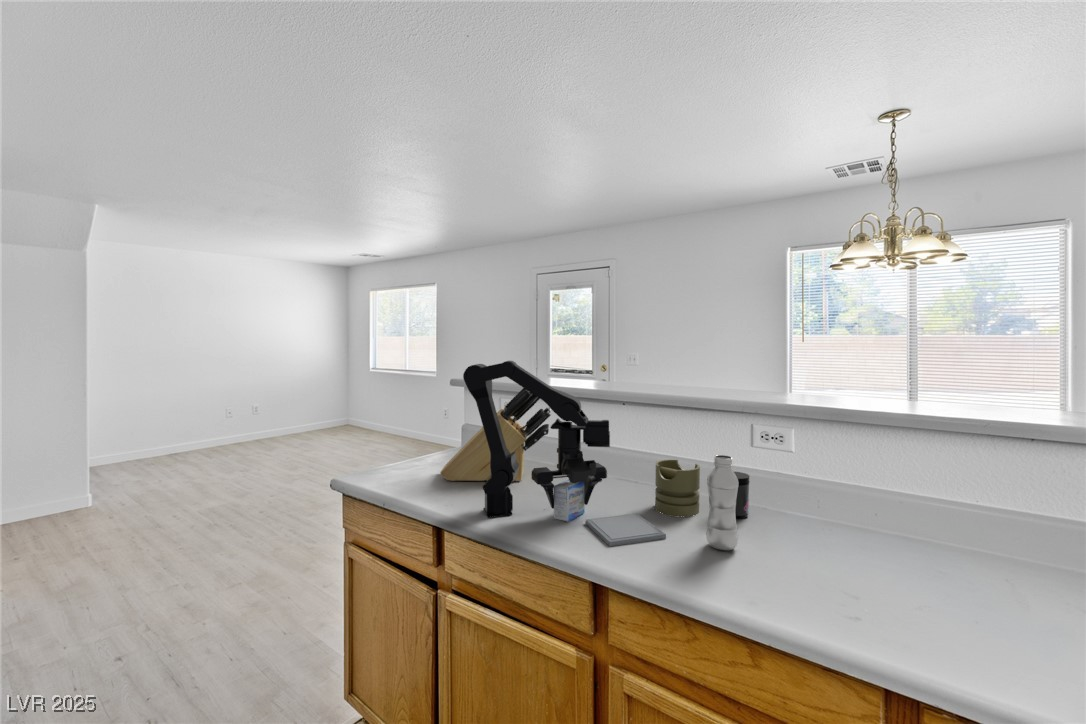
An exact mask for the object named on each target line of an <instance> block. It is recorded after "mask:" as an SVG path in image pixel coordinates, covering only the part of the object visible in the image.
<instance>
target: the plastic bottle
mask: <svg viewBox="0 0 1086 724" xmlns="http://www.w3.org/2000/svg"><path fill="white" fill-rule="evenodd" d="M713 458H714V459H713V466H714V467H713V468H712V470H711V471H710V472H709V474H708V475H707V479H706V484H707V492H708V502H709V506H708V507H709V512H708V523H707V526H706V533H705V535H706V541H707V543H708V544H709V545H710V547H712V548H714V549H716V550H719V551H732V550H733V551H734V549H735V548H736V547H737V545H738V544H739V533H738V528H737V519H736V515H735V510H736V508H735V507H736V498H737V491H738V484H739V482H738V479H737V477H736V475H735V473H734V472H735V471H734V470H733V469H732V467H734V466H733V464H734V463H733V457H732V456H729V455H725V454H717V455H714V457H713ZM733 471H734V472H733Z"/></svg>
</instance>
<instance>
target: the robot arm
mask: <svg viewBox="0 0 1086 724" xmlns="http://www.w3.org/2000/svg"><path fill="white" fill-rule="evenodd" d="M462 378H463V381H464V383H465V386H466V388H467V390H468V392H469V394H470V395H471V396H472V397H473V399H474V401H475V403H476V407H477V409H478V413H479V417H480V420H481V424H482V427H483V428H484V432H485V435H486V439H487V442H488V446H489V449H490V454H491V457H490V469H491V477H490V478H489V479H488V480H486V481H485V483H484V484H483V485H482V490H483V492H484V507H483V511H484V514H485V515H486V517H487V518H498V517H503V516H504V517H506V516H512V515H513V512H512V511H513V509H514V506H513V501H514V500H513V499H514V498H513V494H512V492H511V488H510V487H509V486H511V484H512V483H513V482H514V481H513V480H514V479H515V477H516V475H517V473H518V467H519V466H520V465H519V464H518V462H517V459H516V452H513V453H510V452H509V450H508V449H507V447H506V444H505V441H504V437H503V434H502V430H501V427H500V423H499V419H498V416H497V412H498V411H497V410H496V405H495V402H494V398H493V380H497V379H501V378H508V379H509V380H510V381H513V382H514V383H516V384H517V385H518V386H520V387H522V389H523V388H525V389H526V390H528V391H529V392H531V393H532V394H534V395H535V396H537V397H538V398H540V399H539V400H541V401H543V402H544V403H545V404H546V405H547V407H549V408H550V409H551V411H552V412H554V414H556V415H557V417H559V418H556V419H555V422H553V423H552V424H551V425H550V426H549V427H550V429H551V430H557V432H558V433H557V435H558V436H557V437H558V438H557V439H558V440H557V448H556V453H557V457H558V459H557V462H558V463H556V469H555V470H551V469H549V468H548V467H545V466H544V467H543V466H542V467H534V468H533V469H532V470H531V480H532V481H534V483H536V484H537V485H540V487H541V488H543V489H544V491H545V494H546V497H547V500H548V503H549V507H551V509H553V510H554V486H555V484H554V483H553V481H554V479H563V478H568V480H569V481H570V482H571V483H577V482H584V488H585V489H584V501H585V506H588V504H589V502H590V500H591V499H590V498H591V496H592V494H593V491H594V489H595V487H596V486H597V485H598V483H601V482H602V481H603V479H605V480H606V479H607V478H608V469H607V467H605V466H604V465H602V464H600V463H599V462H596V461H595V460H594V459H591V460H584V457H583V451H582V450H581V449H582V448H581V445H582V444H581V443H582V442H583V443H585V445H587V447H588V448H590V447H591V448H610V446H611V439H610V438H611V431H610V420H609V419H602V420H598V419H597V420H595V419H594V420H591V419H589V417H588V416H587V414H585V412H584V411H583V410H582V403H581V401H580V400H579V399H578V397H576V396H574V395H572V394H569V393H567V392H565V391H562V390H559V389H557V388H554V387H552V386H550V385H549V384H547V382H544V381H542V379H540V378H538V377H536V376H535V375H533V373H531V372H529V371H528V370H526V369H525V368H523V367H522V366H520V365H518V364H517V362H516V361H514V360H506V361H503V362H500V363H495V364H490V365H488V366H487V365H486V364H484V363H476V364H471V365H470V366H468V367H467V368H466V369H465V370H464V372H463V374H462ZM560 419H561V420H560ZM581 431H582V432H581ZM581 434H582V435H581ZM581 436H582V437H581ZM581 438H582V439H581ZM581 440H582V441H581Z"/></svg>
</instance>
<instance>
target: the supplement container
mask: <svg viewBox="0 0 1086 724" xmlns="http://www.w3.org/2000/svg"><path fill="white" fill-rule="evenodd" d="M732 471H733V472H734V473H735V475H736V477H737V479H738V482H739V484H738V491H737V498H736V507H735V508H736V510H735V515H736V518H737V519H741V520H742V519H745V518H747V517H748V516H749V514H750V513H749V511H750V510H749V509H750V483H751V482H750V481H751V480H750V477H751V476H750V474H748V473H746V472H742V471H734V470H732ZM737 519H736V520H737Z"/></svg>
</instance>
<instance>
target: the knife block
mask: <svg viewBox="0 0 1086 724" xmlns="http://www.w3.org/2000/svg"><path fill="white" fill-rule="evenodd" d="M539 400H541V399H540V398H538V397H537V396H535V395H534V394H532V393H531V392H529V391H528V390H526V389H525V388H523V387H522V389H521V390H519V392H517V394H516V395H514V397H513V398H512V399H510V401H509V402H508V403H507V404H506V405H505V406H504V408H500V409H499V410H498V411H496V412H497V416H498V419H499V423H500V427H501V430H502V434H503V437H504V441H505V444H506V447H507V449H508V450H509V452H510V453H513V452H516V459H517V462H518V464H519V465H520V466H519V467H518V473H517V475H516V477H515V479H514V480H513V482H520V481H522V479H523V476H524V466H525V465H524V463H525V459H524V458H525V457H524V456H525V455H524V454H525V452H526V451H527V450H529V449H530V448H531V447H533V445H535V444H536V443H538V442H539V441H540V440H541V439H542V438H543V437H545V436H546V435H548V434H549V431H550V429H549V427H550V424H549V423H544V422H546V420H548V419H549V418H550V416H551V415H552V412H551V411H552V409H551V408H550V407H549V406H547V407H546V408H544V409H543V408H540V409H539V410H538V411H536V412H535V414H534V415H532V417H530V418H529V419H528V420H527V421H526V423H525V425H523V426H521V425H520V424H519V423H518V422H517V421H519V420H520V419H521V418H522V417H523V416H525V414H526V413H528V411H529V410H531V409H532V408H533V407H534V406H535V404H537V403H538V401H539ZM543 423H544V424H543ZM490 457H491V454H490V449H489V446H488V442H487V439H486V435H485V432H484V428H483V426H482V427H481V428H480V429H479V430H478V431H477V432H476V433H474V435H473V436H472V437H471V438H470V439H469V440H468V441H467V442H466V443H465V444H464V445H463V446H462V447H461V448H460V449H459V450H458V451H457V452H456V454H454V455H453V456H452V457H451V458H450V459H449V461H448V462H447V463H446V464H445V465H444V467H443V468H442V470H441V471H440V475H441V476H442V477H443V478H445V480H447V481H452V482H455V481H487V480H488V479H489V478H490V477H491V469H490Z"/></svg>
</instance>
